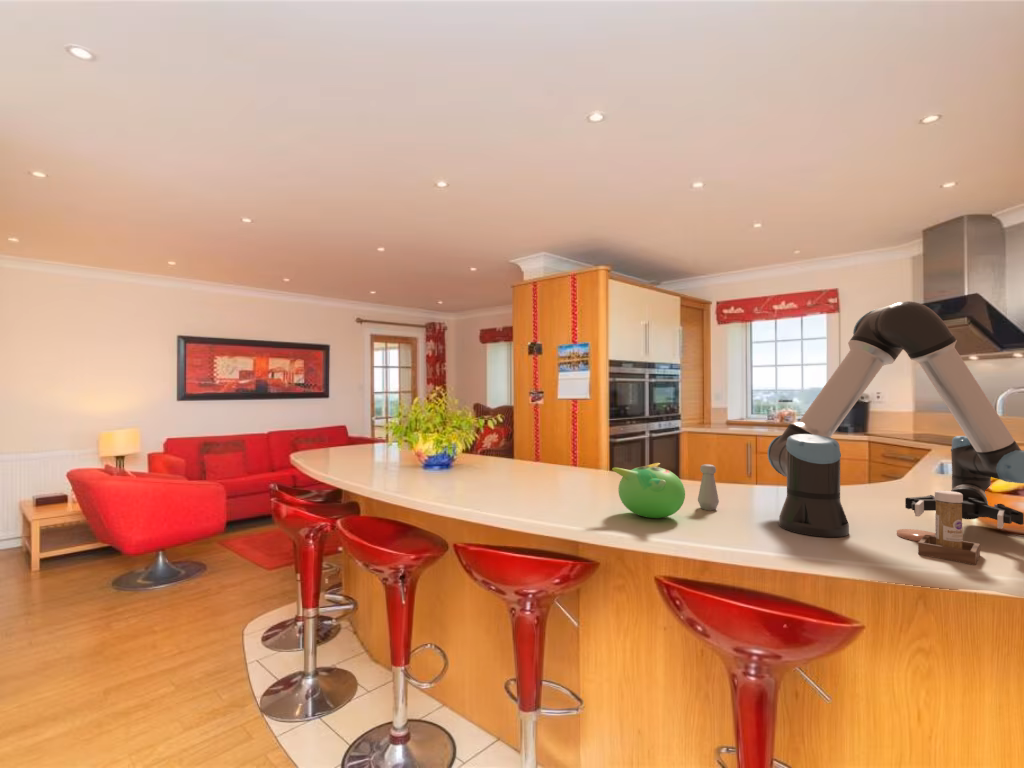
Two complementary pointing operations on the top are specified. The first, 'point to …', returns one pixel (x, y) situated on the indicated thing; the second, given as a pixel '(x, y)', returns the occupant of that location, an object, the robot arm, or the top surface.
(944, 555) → the walnut collar
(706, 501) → the salt shaker
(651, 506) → the green cartoon creature figurine
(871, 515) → the top surface
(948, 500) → the sprinkles bottle
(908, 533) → the terracotta coaster
